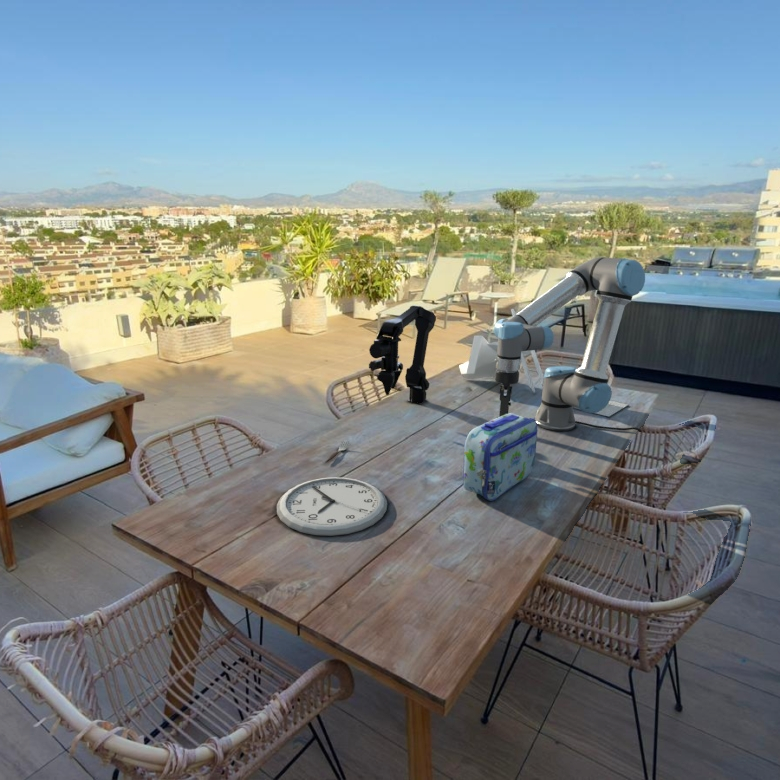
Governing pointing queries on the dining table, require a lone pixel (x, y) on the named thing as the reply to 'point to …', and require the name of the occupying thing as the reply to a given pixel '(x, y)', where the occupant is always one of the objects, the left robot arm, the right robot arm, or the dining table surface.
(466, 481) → the lunch box
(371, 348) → the left robot arm
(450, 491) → the dining table surface
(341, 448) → the fork
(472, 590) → the dining table surface
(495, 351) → the white plastic object
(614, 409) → the invitation card
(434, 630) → the dining table surface
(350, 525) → the wall clock
